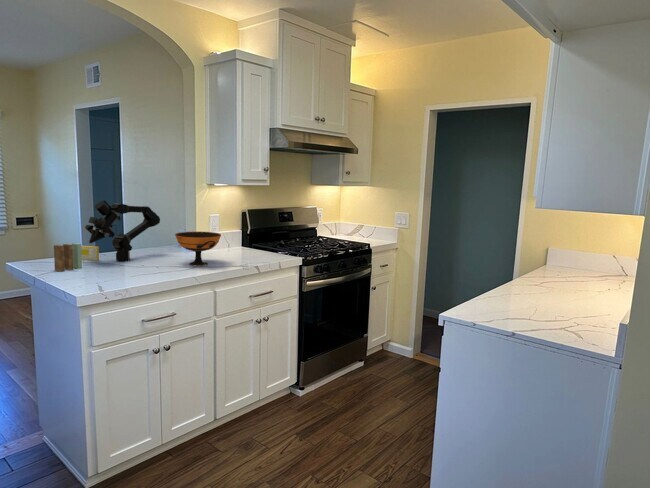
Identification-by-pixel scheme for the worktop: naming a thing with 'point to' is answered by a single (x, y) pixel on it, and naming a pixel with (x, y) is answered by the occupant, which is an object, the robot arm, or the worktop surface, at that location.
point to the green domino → (77, 255)
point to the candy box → (90, 253)
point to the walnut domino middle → (68, 257)
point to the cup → (198, 243)
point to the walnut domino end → (59, 258)
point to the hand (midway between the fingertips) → (89, 242)
